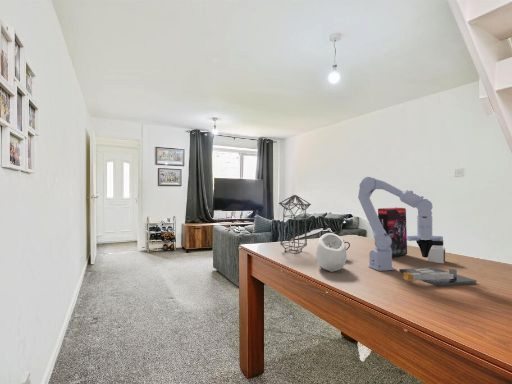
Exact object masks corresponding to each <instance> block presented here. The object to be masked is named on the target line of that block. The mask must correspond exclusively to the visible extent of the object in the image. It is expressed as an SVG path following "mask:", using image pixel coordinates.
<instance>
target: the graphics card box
mask: <svg viewBox="0 0 512 384" xmlns="http://www.w3.org/2000/svg"><path fill="white" fill-rule="evenodd" d="M377 215H378V218H379V220H380V222H381V224H382V227H383V228H384V230H385V231H386V233H387V235H388V236H390V237H391V239H392V244H391V245H390V248H391V249H392V258H394V257H399V256H406V255H408V240H407V236H408V234H407V229H408V228H407V208H406V207H405V208H404V207H384V208H380V207H379V208H377Z"/></svg>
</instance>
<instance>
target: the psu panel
mask: <svg viewBox="0 0 512 384" xmlns="http://www.w3.org/2000/svg"><path fill="white" fill-rule="evenodd" d="M404 272H409V273H432V272H448V271H446V270H444V269H441V268H437V267H434V266H429V267H427V266H426V267H413V268H400V269H399V271H398V273H401V274H403V275H404ZM421 281H422V282H423V283H427V284H429V285H432V286H435V287H438V288H440V287H441V288H443V287H451V286H461V285H462V286H464V285H474V284H477V280H476V279H473V278H470V277H466V276H463V275H460V274H457V281H453V280H450V279H431V280H421Z"/></svg>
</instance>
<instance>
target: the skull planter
mask: <svg viewBox="0 0 512 384" xmlns="http://www.w3.org/2000/svg"><path fill="white" fill-rule="evenodd" d="M343 240H344V239H343V238H342V237H340V235H338V234H336V233H332V232H326V233H324V234H322V235H321V236H320V237H319V238H318V242H317V246H316V250H315V256H316V257H315V260H316V263H317V265H318V266H319V267H320V268H322V269H324V270H326V271H328V272H330V273H333V272H337V271H340V270H341V269H343V268H344V266H345V265H346V261H347V257H348V255H347V250H346V249H347V246H346V243H344V242H345V240H344V241H343ZM330 246H331V247H330Z"/></svg>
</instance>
